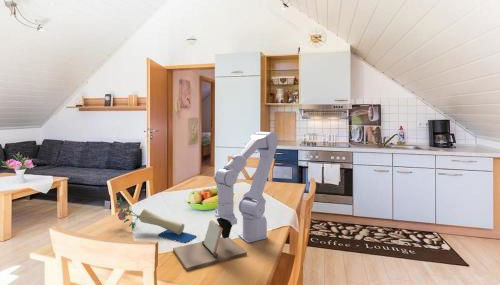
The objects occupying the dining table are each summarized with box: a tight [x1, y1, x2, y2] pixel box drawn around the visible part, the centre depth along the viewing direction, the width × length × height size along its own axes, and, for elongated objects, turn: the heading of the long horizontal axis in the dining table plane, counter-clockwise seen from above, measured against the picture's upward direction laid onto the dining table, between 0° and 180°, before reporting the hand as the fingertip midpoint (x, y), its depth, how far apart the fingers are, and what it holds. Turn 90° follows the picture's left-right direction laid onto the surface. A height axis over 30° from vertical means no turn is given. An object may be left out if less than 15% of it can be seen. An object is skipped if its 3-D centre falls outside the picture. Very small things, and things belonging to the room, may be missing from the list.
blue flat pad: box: [158, 229, 197, 244], centre depth 118 cm, size 7×1×15 cm
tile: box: [203, 219, 223, 253], centre depth 104 cm, size 9×9×1 cm
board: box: [172, 236, 248, 272], centre depth 104 cm, size 22×16×2 cm
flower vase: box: [114, 197, 185, 235], centre depth 125 cm, size 12×12×35 cm
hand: (225, 237), depth 107 cm, fingers closed
